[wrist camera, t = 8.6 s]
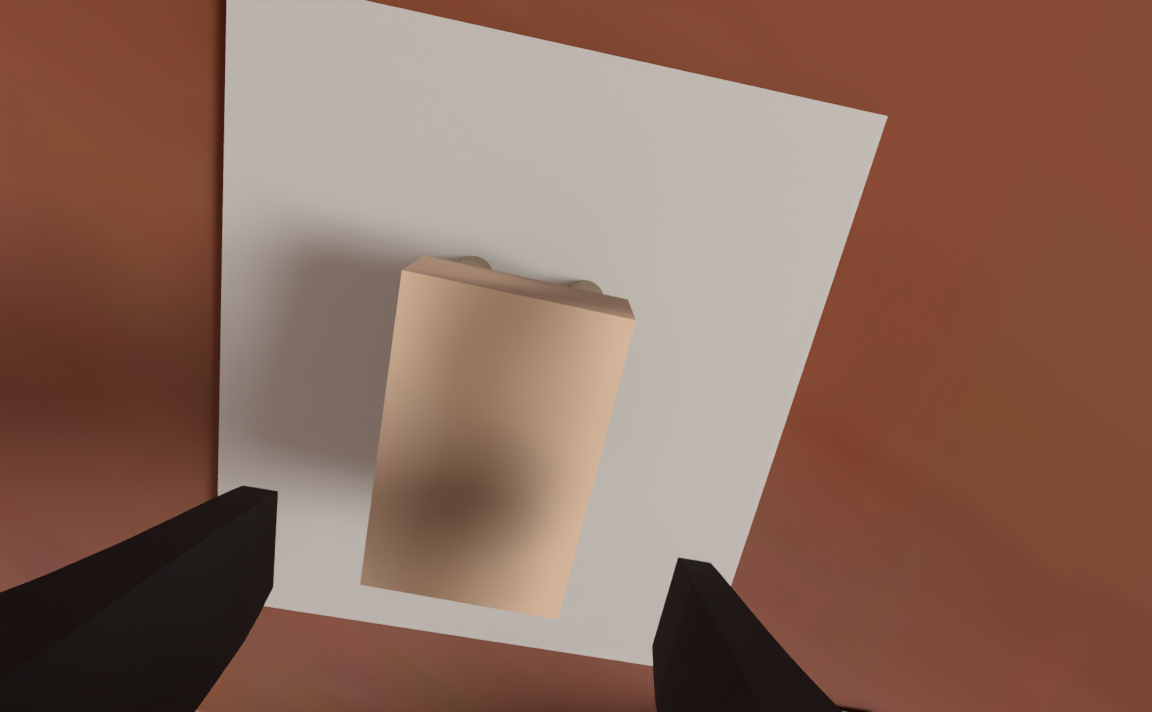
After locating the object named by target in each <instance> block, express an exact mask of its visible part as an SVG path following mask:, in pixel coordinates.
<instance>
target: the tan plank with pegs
mask: <svg viewBox="0 0 1152 712" xmlns="http://www.w3.org/2000/svg"><path fill="white" fill-rule="evenodd" d="M635 322H636V319H635V316H634V314H633V311H632V309H631V306H630V304H629V301H628V299H624V298H619V297H614V296H610V295H605V294H603V292H602V290H601V289H600V287H599V286H598V285H596V284H595V283H593V282H591V281H587V280H582V281H578V282H575V283H573V284H572V285H571V286H570V287H568V286H564V285H559V284H554V283H550V282H545V281H541V280H536V279H531V278H527V277H522V276H518V275H513V274H508V273H504V272H499V271H495V270H492V268H491V266H490V265H489V263H488V262H487V261H485V260H484V259H482V258H480V257H477V256H468V257H465V258H463V259H461V260H460V261H459V262H453V261H448V260H444V259H439V258H435V257H430V256H425V255H424V256H422V257H421V258H419V259H418V260H416V261H415V262H413V263H412V264H410V265H409V266H407V267H406V268H404V269H402V272H401V280H400V287H399V295H398V302H397V310H396V317H395V325H394V332H393V340H392V347H391V355H390V363H389V370H388V378H387V385H386V393H385V400H384V408H383V415H382V423H381V430H380V438H379V445H378V453H377V461H376V468H375V476H374V483H373V491H372V498H371V506H370V513H369V521H368V528H367V536H366V543H365V551H364V559H363V566H362V574H361V581H360V585H364V586H370V587H376V588H381V589H387V590H393V591H398V592H404V593H410V594H415V595H421V596H427V597H432V598H438V599H444V600H450V601H455V602H461V603H467V604H472V605H478V606H484V607H489V608H495V609H501V610H506V611H512V612H518V613H523V614H529V615H535V616H541V617H546V618H552V619H558V618H559V615H560V611H561V607H562V603H563V599H564V595H565V591H566V588H567V584H568V580H569V576H570V572H571V568H572V565H573V561H574V557H575V553H576V549H577V545H578V541H579V538H580V534H581V530H582V526H583V522H584V518H585V514H586V511H587V507H588V503H589V499H590V495H591V491H592V487H593V484H594V480H595V476H596V472H597V468H598V464H599V461H600V457H601V453H602V449H603V445H604V441H605V437H606V434H607V430H608V426H609V422H610V418H611V414H612V410H613V407H614V403H615V399H616V395H617V391H618V387H619V384H620V380H621V376H622V372H623V368H624V364H625V360H626V357H627V353H628V349H629V345H630V341H631V337H632V333H633V330H634V326H635Z"/></svg>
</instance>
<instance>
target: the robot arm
mask: <svg viewBox="0 0 1152 712" xmlns="http://www.w3.org/2000/svg"><path fill="white" fill-rule="evenodd" d="M277 502H278V491H273V490H267V489H261V488H255V487H249V486H240V487H238V488H235V489H233V490H231V491H228V492H226V493H224V494H222V495H220V496H217V497H215V498H213V499H211V500H209V501H207V502H205V503H203V504H201V505H199V506H197V507H194V508H192V509H190V510H188V511H186V512H184V513H182V514H180V515H178V516H176V517H174V518H172V519H170V520H167V521H165V522H163V523H161V524H159V525H157V526H155V527H153V528H151V529H148V530H146V531H144V532H142V533H140V534H138V535H136V536H134V537H132V538H129V539H127V540H125V541H123V542H121V543H119V544H116V545H114V546H112V547H109V548H107V549H105V550H102V551H100V552H98V553H95V554H93V555H91V556H89V557H86V558H84V559H82V560H79V561H77V562H75V563H72V564H70V565H68V566H65V567H63V568H61V569H58V570H56V571H54V572H52V573H49V574H47V575H44V576H42V577H39V578H37V579H34V580H32V581H29V582H27V583H24V584H21V585H19V586H16V587H14V588H11V589H8V590H6V591H3V592H0V712H195V711H196V709H197V708H198V707H199V705H200V704H201V702H202V701H203V700H204V698H205V697H206V695H207V694H208V693H209V691H210V690H211V688H212V687H213V686H214V684H215V683H216V681H217V680H218V678H219V677H220V676H221V674H222V673H223V671H224V670H225V668H226V667H227V666H228V664H229V663H230V661H231V660H232V658H233V657H234V656H235V654H236V653H237V651H238V650H239V648H240V647H241V645H242V644H243V642H244V641H245V639H246V637H247V635H248V634H249V632H250V630H251V628H252V626H253V625H254V623H255V621H256V619H257V618H258V616H259V614H260V612H261V610H262V608H263V606H264V604H265V602H266V600H267V598H268V597H269V595H270V593H271V591H272V589H273V582H274V562H275V542H276V522H277ZM652 654H653V673H654V688H655V701H656V708H657V712H846V711H842V710H841V709H839V708H838V707H837V706H836V705H835V704H834V703H833V702H832V701H831V700H830V699H829V697H828V696H827V695H826V694H825V693H824V692H823V691H822V690H821V689H820V688H819V687H818V686H817V685H816V684H815V683H814V682H813V681H812V680H811V679H810V678H809V676H808V675H807V674H806V673H805V672H804V671H803V670H802V669H801V668H800V667H799V666H798V665H797V664H796V662H795V661H794V660H793V659H792V658H791V657H790V656H789V655H788V654H787V653H786V651H785V650H784V649H783V648H782V647H781V646H780V645H779V643H778V642H777V641H776V640H775V639H774V638H773V636H772V635H771V634H770V633H769V632H768V631H767V629H766V628H765V627H764V626H763V625H762V624H761V622H760V621H759V620H758V619H757V618H756V616H755V615H754V614H753V613H752V612H751V610H750V609H749V608H748V607H747V605H746V604H745V603H744V602H743V601H742V599H741V598H740V597H739V596H738V595H737V593H736V592H735V591H734V590H733V588H732V587H731V586H730V585H729V584H728V582H727V581H726V580H725V579H724V578H723V576H722V575H721V574H720V573H719V572H718V571H717V569H716V568H715V567H714V566H713V565H712V564H711V563H709V562H703V561H697V560H691V559H685V558H679V557H678V559H677V563H676V566H675V570H674V573H673V577H672V580H671V583H670V587H669V590H668V594H667V597H666V600H665V604H664V607H663V611H662V614H661V618H660V621H659V624H658V628H657V631H656V635H655V638H654V641H653V645H652Z"/></svg>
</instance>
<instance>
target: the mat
mask: <svg viewBox="0 0 1152 712" xmlns="http://www.w3.org/2000/svg"><path fill="white" fill-rule="evenodd" d="M887 117H888V116H884V115H880V114H875V113H871V112H866V111H862V110H857V109H853V108H848V107H844V106H839V105H835V104H830V103H826V102H821V101H817V100H812V99H808V98H803V97H799V96H794V95H790V94H785V93H780V92H776V91H771V90H767V89H762V88H758V87H753V86H749V85H744V84H740V83H735V82H731V81H726V80H722V79H717V78H713V77H708V76H704V75H699V74H695V73H690V72H686V71H681V70H677V69H672V68H668V67H663V66H659V65H654V64H650V63H645V62H641V61H636V60H632V59H627V58H623V57H618V56H614V55H609V54H605V53H600V52H596V51H591V50H586V49H582V48H577V47H573V46H568V45H564V44H559V43H555V42H550V41H546V40H541V39H537V38H532V37H528V36H523V35H519V34H514V33H510V32H505V31H501V30H496V29H492V28H487V27H483V26H478V25H474V24H469V23H465V22H460V21H456V20H451V19H447V18H442V17H438V16H433V15H429V14H424V13H420V12H415V11H411V10H406V9H402V8H397V7H392V6H388V5H383V4H379V3H374V2H370V1H365V0H227V1H226V57H225V114H224V170H223V227H222V283H221V339H220V396H219V452H218V496H220V495H222V494H224V493H226V492H228V491H231V490H233V489H235V488H238V487H240V486H249V487H255V488H261V489H267V490H273V491H278V502H277V522H276V542H275V562H274V582H273V589H272V591H271V593H270V595H269V597H268V598H267V600H266V602H265V604H264V606H267V607H274V608H280V609H287V610H293V611H300V612H306V613H313V614H319V615H326V616H332V617H339V618H345V619H352V620H358V621H365V622H371V623H378V624H384V625H391V626H397V627H404V628H410V629H416V630H423V631H429V632H436V633H442V634H449V635H455V636H462V637H468V638H475V639H481V640H488V641H494V642H501V643H507V644H514V645H520V646H527V647H533V648H540V649H546V650H553V651H559V652H566V653H572V654H578V655H585V656H591V657H598V658H604V659H611V660H617V661H624V662H630V663H637V664H643V665H650V666H653V654H652V645H653V641H654V638H655V635H656V631H657V628H658V624H659V621H660V618H661V614H662V611H663V607H664V604H665V600H666V597H667V594H668V590H669V587H670V583H671V580H672V577H673V573H674V570H675V566H676V563H677V559H678V557H679V558H685V559H691V560H697V561H703V562H709V563H711V564H712V565H713V566H714V567H715V568H716V569H717V571H718V572H719V573H720V574H721V575H722V576H723V578H724V579H725V580H726V581H727V582H728V584H729V585H730V586H731V584H732V581H733V578H734V575H735V572H736V569H737V566H738V563H739V560H740V557H741V554H742V551H743V548H744V545H745V542H746V539H747V536H748V533H749V530H750V527H751V524H752V521H753V518H754V515H755V512H756V509H757V506H758V503H759V500H760V497H761V494H762V491H763V488H764V485H765V482H766V479H767V476H768V473H769V470H770V467H771V464H772V461H773V458H774V455H775V452H776V449H777V446H778V443H779V440H780V437H781V434H782V431H783V428H784V425H785V422H786V419H787V416H788V413H789V410H790V407H791V404H792V401H793V398H794V395H795V392H796V389H797V386H798V383H799V380H800V377H801V374H802V371H803V368H804V365H805V362H806V359H807V356H808V353H809V350H810V347H811V344H812V341H813V338H814V335H815V332H816V329H817V326H818V323H819V320H820V318H821V315H822V312H823V309H824V306H825V303H826V300H827V297H828V294H829V291H830V288H831V285H832V282H833V279H834V276H835V273H836V270H837V267H838V264H839V261H840V258H841V255H842V252H843V249H844V246H845V243H846V240H847V237H848V234H849V231H850V228H851V225H852V222H853V219H854V216H855V213H856V210H857V207H858V204H859V201H860V198H861V195H862V192H863V189H864V186H865V183H866V180H867V177H868V174H869V171H870V168H871V165H872V162H873V159H874V156H875V153H876V150H877V147H878V144H879V141H880V138H881V135H882V132H883V129H884V126H885V123H886V120H887ZM424 255H425V256H430V257H435V258H439V259H444V260H448V261H453V262H459V261H460V260H461V259H463V258H465V257H468V256H477V257H480V258H482V259H484V260H485V261H487V262H488V263H489V265H490V266H491V268H492V270H495V271H499V272H504V273H508V274H513V275H518V276H522V277H527V278H531V279H536V280H541V281H545V282H550V283H554V284H559V285H564V286H568V287H570V286H571V285H572V284H573V283H575V282H578V281H582V280H587V281H591V282H593V283H595V284H596V285H598V286H599V287H600V289H601V290H602V292H603V294H605V295H610V296H614V297H619V298H624V299H628V301H629V304H630V306H631V309H632V311H633V314H634V316H635V319H636V322H635V326H634V330H633V333H632V337H631V341H630V345H629V349H628V353H627V357H626V360H625V364H624V368H623V372H622V376H621V380H620V384H619V387H618V391H617V395H616V399H615V403H614V407H613V410H612V414H611V418H610V422H609V426H608V430H607V434H606V437H605V441H604V445H603V449H602V453H601V457H600V461H599V464H598V468H597V472H596V476H595V480H594V484H593V487H592V491H591V495H590V499H589V503H588V507H587V511H586V514H585V518H584V522H583V526H582V530H581V534H580V538H579V541H578V545H577V549H576V553H575V557H574V561H573V565H572V568H571V572H570V576H569V580H568V584H567V588H566V591H565V595H564V599H563V603H562V607H561V611H560V615H559V618H558V619H552V618H546V617H541V616H535V615H529V614H523V613H518V612H512V611H506V610H501V609H495V608H489V607H484V606H478V605H472V604H467V603H461V602H455V601H450V600H444V599H438V598H432V597H427V596H421V595H415V594H410V593H404V592H398V591H393V590H387V589H381V588H376V587H370V586H364V585H360V581H361V574H362V566H363V559H364V551H365V543H366V536H367V528H368V521H369V513H370V506H371V498H372V491H373V483H374V476H375V468H376V461H377V453H378V445H379V438H380V430H381V423H382V415H383V408H384V400H385V393H386V385H387V378H388V370H389V363H390V355H391V347H392V340H393V332H394V325H395V317H396V310H397V302H398V295H399V287H400V280H401V272H402V269H404V268H406V267H407V266H409V265H410V264H412V263H413V262H415V261H416V260H418V259H419V258H421V257H422V256H424Z"/></svg>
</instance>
